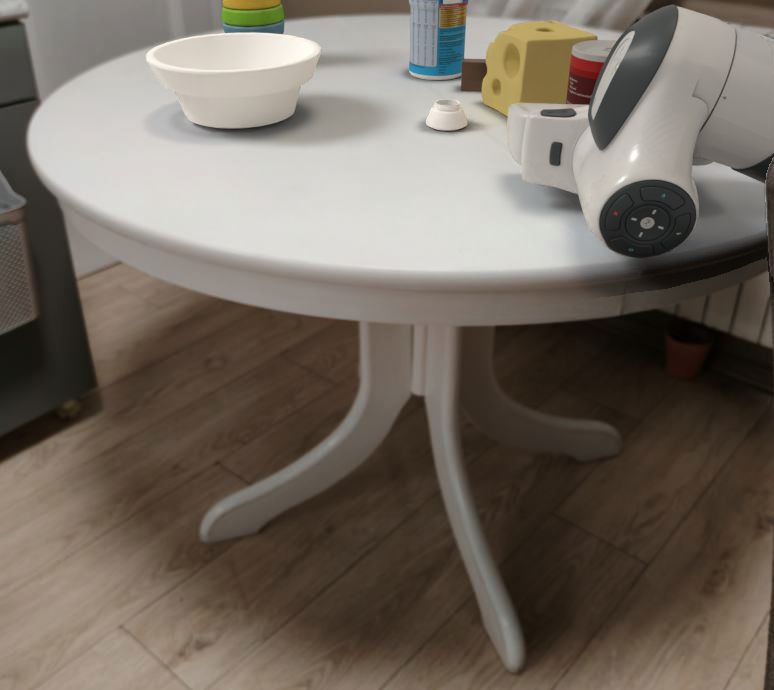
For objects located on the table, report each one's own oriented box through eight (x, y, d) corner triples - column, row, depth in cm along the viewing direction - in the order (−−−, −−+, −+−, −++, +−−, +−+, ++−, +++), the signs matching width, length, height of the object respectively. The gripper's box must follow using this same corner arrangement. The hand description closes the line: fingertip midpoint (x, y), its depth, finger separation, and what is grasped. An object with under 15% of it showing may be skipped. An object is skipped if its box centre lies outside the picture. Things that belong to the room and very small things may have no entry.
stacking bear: (267, 74, 120) (256, -59, 110) (212, 67, 124) (196, -62, 114) (304, 59, 128) (297, -66, 118) (251, 53, 132) (240, -69, 122)
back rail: (636, 92, 111) (640, 62, 109) (638, 96, 109) (643, 66, 107) (461, 87, 113) (462, 58, 111) (460, 91, 112) (462, 61, 109)
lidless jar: (474, 130, 97) (456, 118, 101) (475, 105, 95) (457, 94, 99) (436, 135, 96) (419, 123, 99) (436, 110, 94) (420, 99, 98)
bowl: (346, 100, 108) (344, 36, 104) (288, 151, 91) (283, 77, 86) (203, 90, 113) (195, 28, 108) (123, 136, 96) (110, 65, 91)
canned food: (629, 140, 94) (644, 41, 88) (630, 163, 87) (648, 57, 81) (562, 135, 95) (573, 38, 89) (559, 158, 89) (570, 54, 83)
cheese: (480, 104, 106) (484, 24, 101) (551, 95, 109) (559, 17, 104) (517, 126, 98) (525, 40, 93) (593, 117, 101) (605, 33, 96)
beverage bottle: (402, 80, 117) (403, -75, 106) (414, 66, 124) (416, -81, 113) (459, 83, 115) (466, -74, 104) (469, 69, 122) (476, -80, 111)
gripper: (746, 121, 70) (711, 80, 82) (511, 114, 72) (509, 75, 84) (730, 189, 74) (698, 141, 85) (505, 180, 76) (504, 134, 87)
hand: (602, 108), depth 85 cm, fingers closed, pressing on canned food
